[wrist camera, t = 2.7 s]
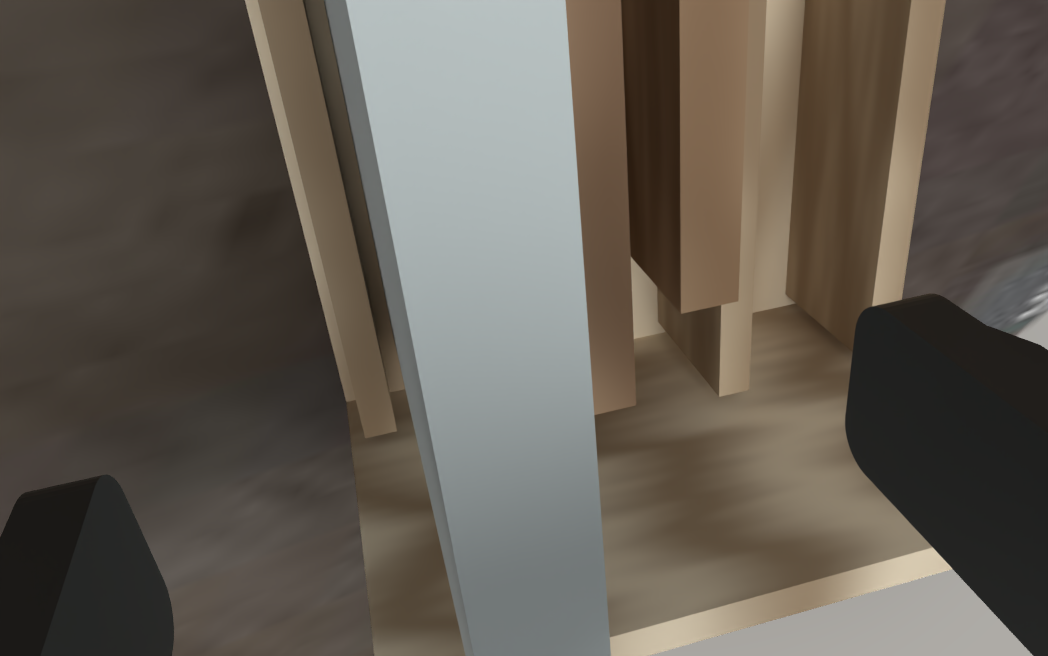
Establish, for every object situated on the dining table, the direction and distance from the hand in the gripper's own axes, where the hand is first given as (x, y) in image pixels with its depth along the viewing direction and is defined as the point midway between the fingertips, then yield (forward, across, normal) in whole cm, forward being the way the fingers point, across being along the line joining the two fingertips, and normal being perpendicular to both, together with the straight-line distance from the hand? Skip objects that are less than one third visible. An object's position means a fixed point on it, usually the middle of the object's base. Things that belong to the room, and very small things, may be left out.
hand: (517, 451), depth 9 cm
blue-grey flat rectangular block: (+17, 0, 0) cm, 17 cm away
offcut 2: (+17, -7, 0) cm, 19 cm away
